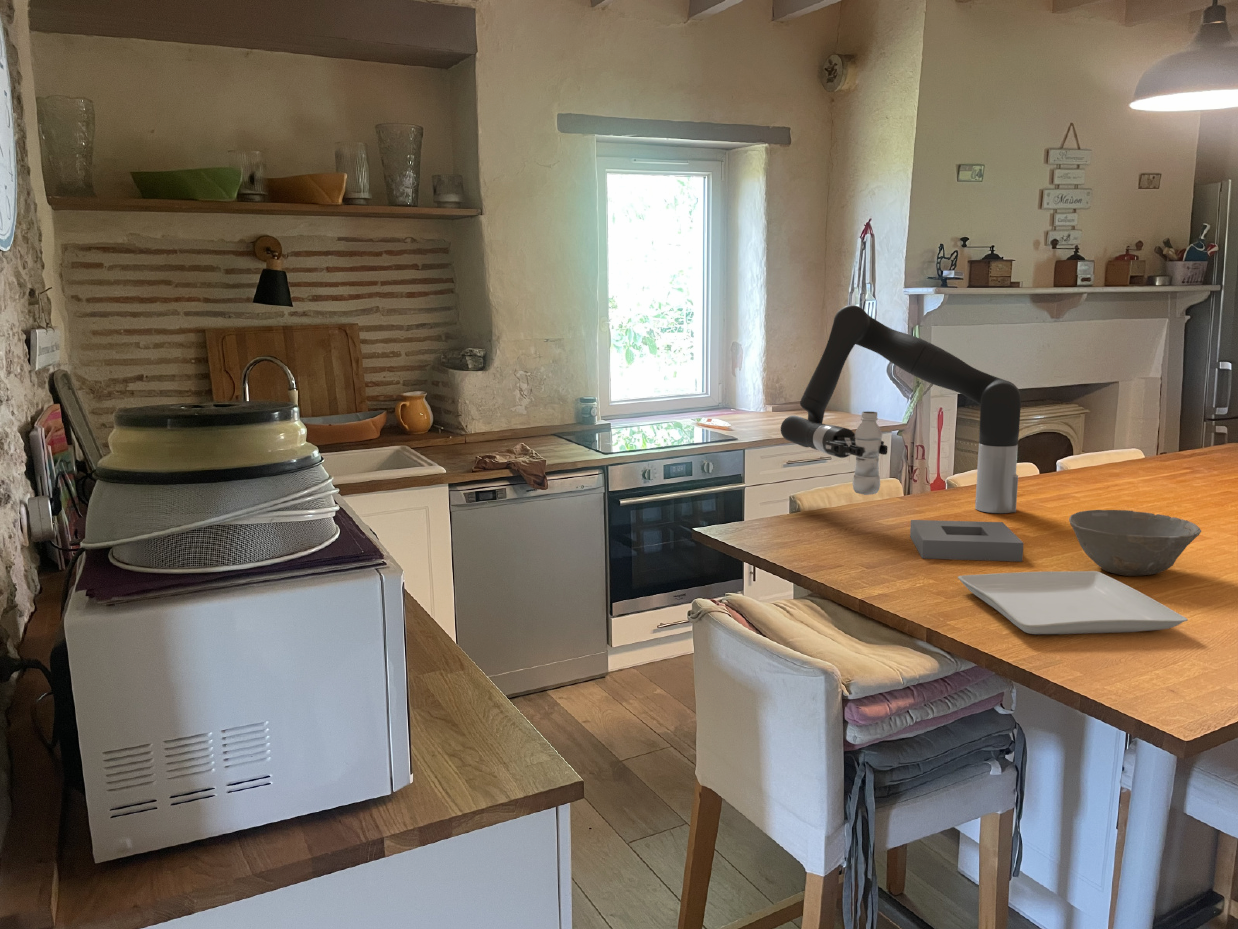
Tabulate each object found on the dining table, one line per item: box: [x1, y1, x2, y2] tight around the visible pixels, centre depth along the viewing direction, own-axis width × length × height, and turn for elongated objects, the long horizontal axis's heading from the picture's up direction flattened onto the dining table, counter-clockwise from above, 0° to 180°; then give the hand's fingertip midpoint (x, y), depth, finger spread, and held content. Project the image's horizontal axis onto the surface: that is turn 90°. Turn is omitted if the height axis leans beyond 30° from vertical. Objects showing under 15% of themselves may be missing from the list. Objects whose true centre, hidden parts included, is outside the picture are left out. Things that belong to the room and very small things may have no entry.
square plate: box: [957, 570, 1188, 635], centre depth 158 cm, size 27×27×4 cm
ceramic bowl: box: [1068, 509, 1202, 577], centre depth 180 cm, size 22×23×10 cm
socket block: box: [909, 519, 1025, 562], centre depth 198 cm, size 20×18×4 cm
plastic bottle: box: [852, 410, 883, 496], centre depth 217 cm, size 6×7×20 cm
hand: (873, 451), depth 215 cm, fingers closed on plastic bottle, 6 cm apart
